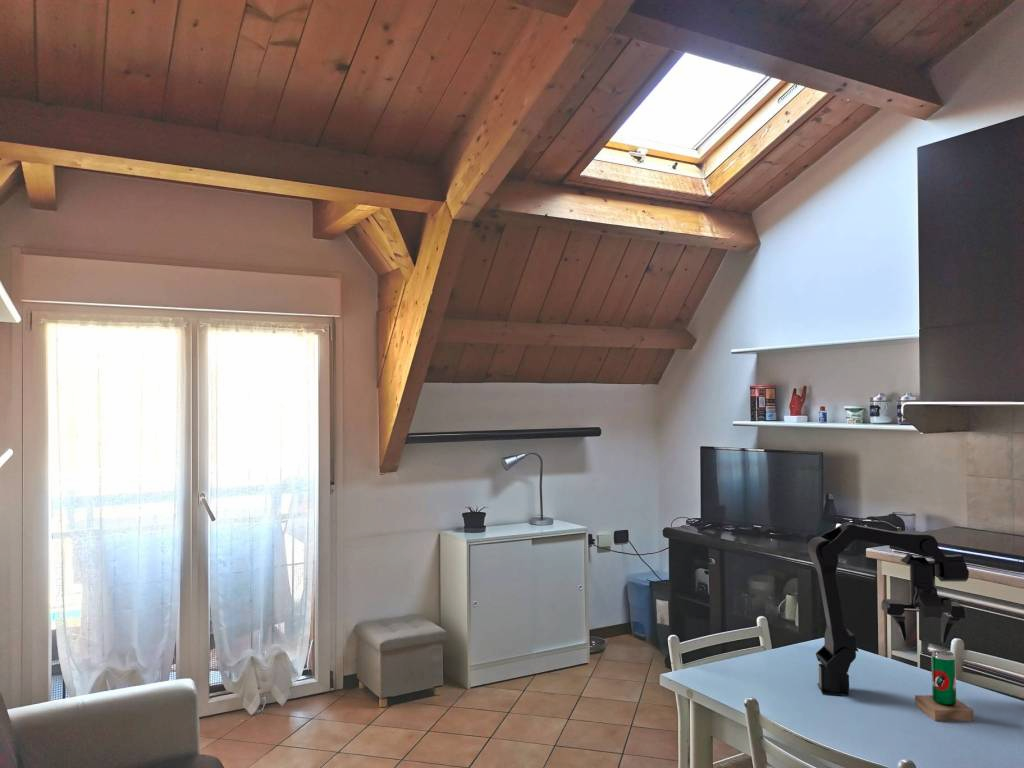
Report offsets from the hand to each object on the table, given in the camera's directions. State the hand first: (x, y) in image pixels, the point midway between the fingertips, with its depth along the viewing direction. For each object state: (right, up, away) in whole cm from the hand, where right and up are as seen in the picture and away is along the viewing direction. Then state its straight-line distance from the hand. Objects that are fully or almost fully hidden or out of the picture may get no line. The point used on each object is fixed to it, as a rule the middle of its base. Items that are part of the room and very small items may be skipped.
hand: (923, 641), depth 193 cm
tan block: (-2, -13, -13) cm, 18 cm away
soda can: (-2, -10, -13) cm, 17 cm away
